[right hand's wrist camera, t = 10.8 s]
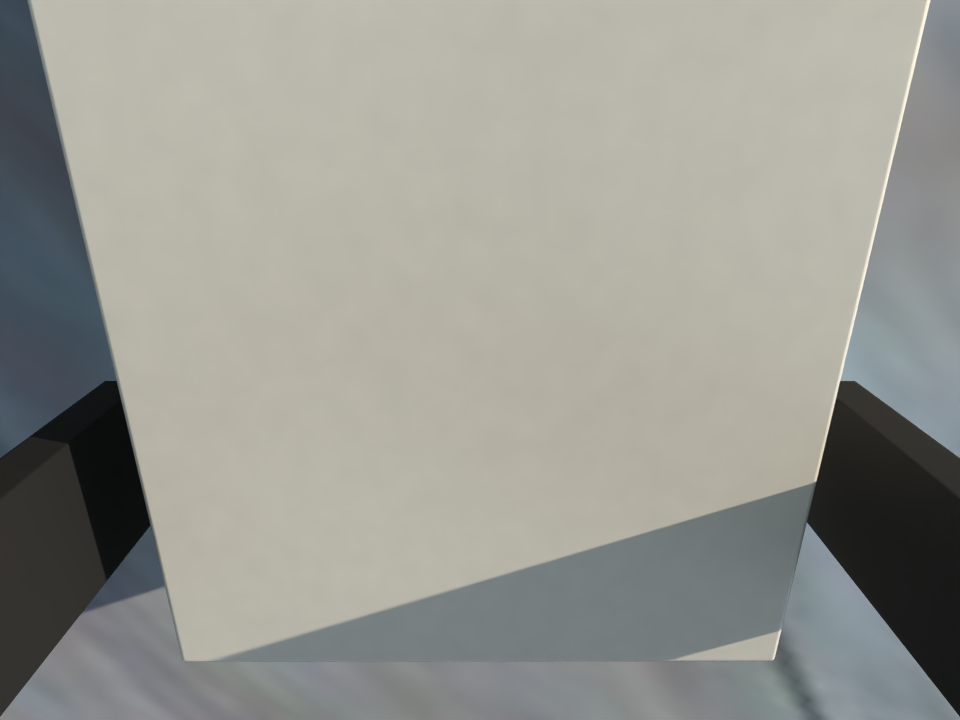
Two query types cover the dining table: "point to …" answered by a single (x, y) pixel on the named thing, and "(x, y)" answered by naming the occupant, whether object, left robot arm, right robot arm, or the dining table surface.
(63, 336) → the dining table surface
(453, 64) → the cabinet
